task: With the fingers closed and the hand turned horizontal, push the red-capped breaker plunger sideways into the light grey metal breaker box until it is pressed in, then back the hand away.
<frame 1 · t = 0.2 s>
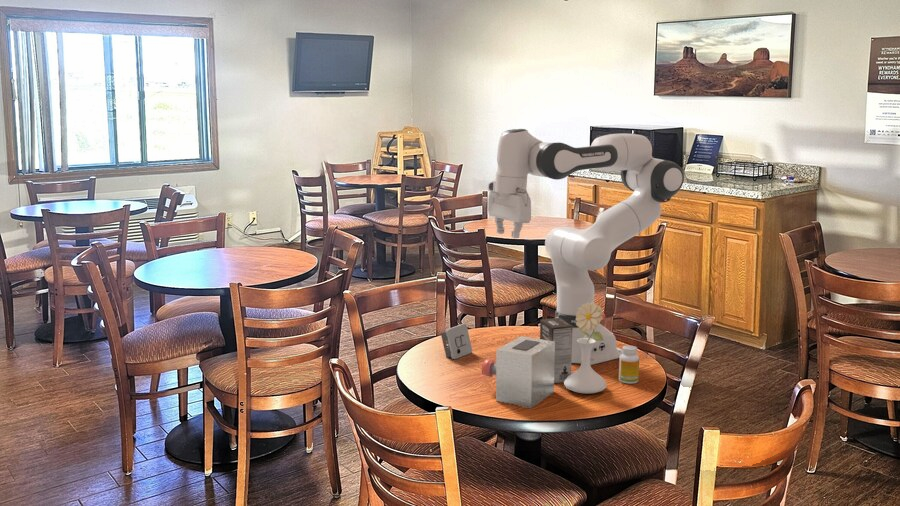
hand: (507, 235, 237), 39 cm above the table, tool pointing down, fingers open, 8 cm apart
flower in vase: (586, 391, 224), on the table
coffee box: (555, 378, 235), on the table
breaker box: (525, 396, 220), on the table
electrical switch: (456, 355, 255), on the table
breaker plunger: (502, 370, 222), point 6 cm above the table, slide at 0.0 cm
supplement bottle: (628, 381, 232), on the table
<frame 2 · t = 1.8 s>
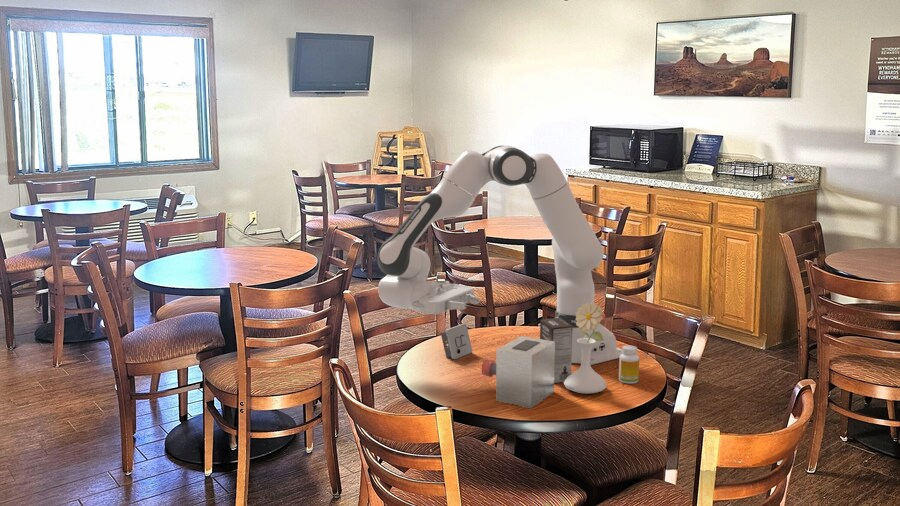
hand: (471, 303, 228), 22 cm above the table, tool horizontal, fingers open, 5 cm apart
nothing on the table moved.
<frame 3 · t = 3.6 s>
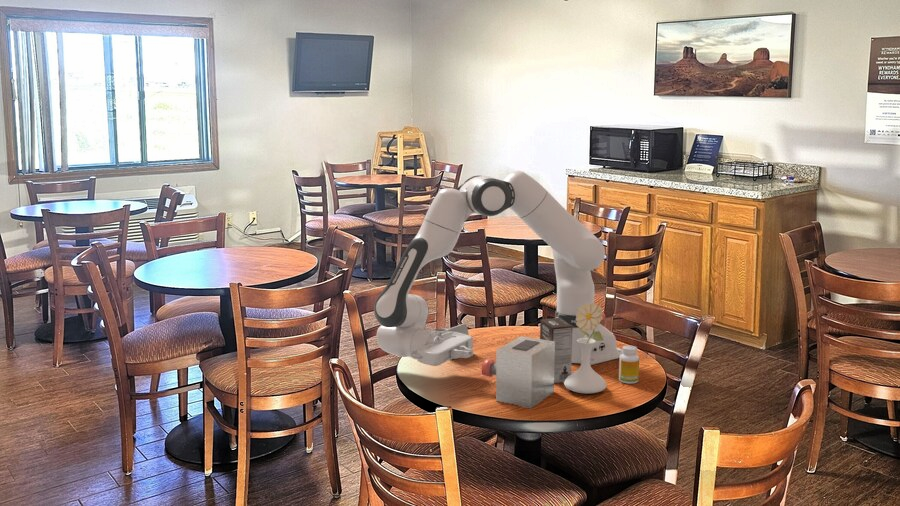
hand: (470, 354, 227), 9 cm above the table, tool horizontal, fingers closed
nothing on the table moved.
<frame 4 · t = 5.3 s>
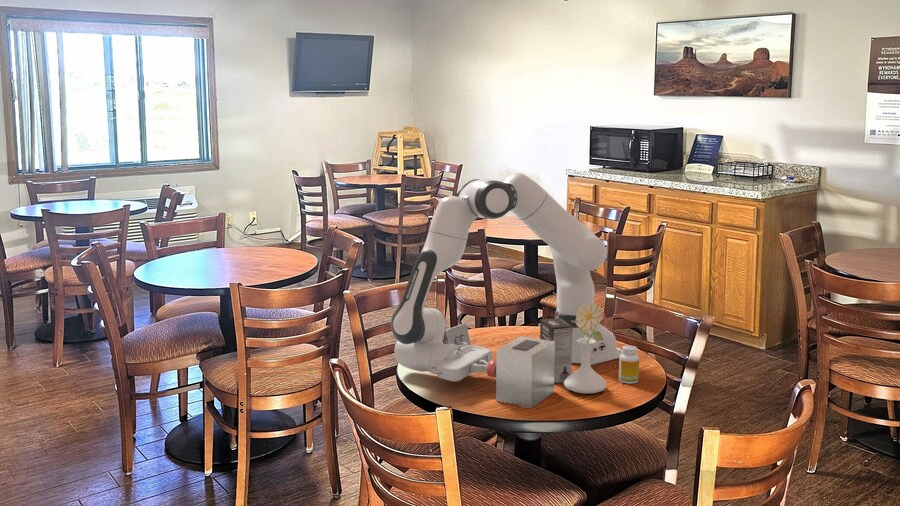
hand: (490, 368, 224), 6 cm above the table, tool horizontal, fingers closed, pressing on breaker plunger
breaker plunger: (508, 371, 222), point 6 cm above the table, slide at 1.6 cm, touching gripper
everything else where it was.
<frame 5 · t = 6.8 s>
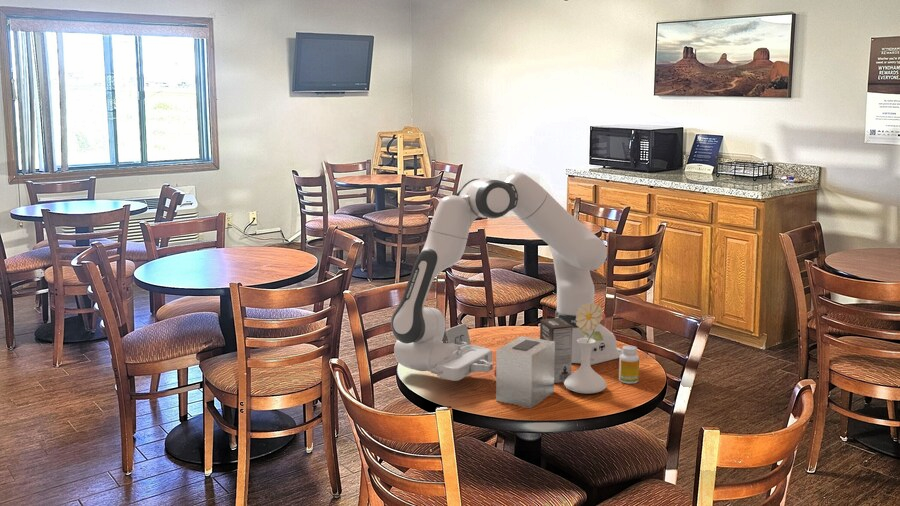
hand: (491, 368, 224), 6 cm above the table, tool horizontal, fingers closed
breaker plunger: (515, 372, 220), point 6 cm above the table, slide at 3.9 cm
everything else where it was.
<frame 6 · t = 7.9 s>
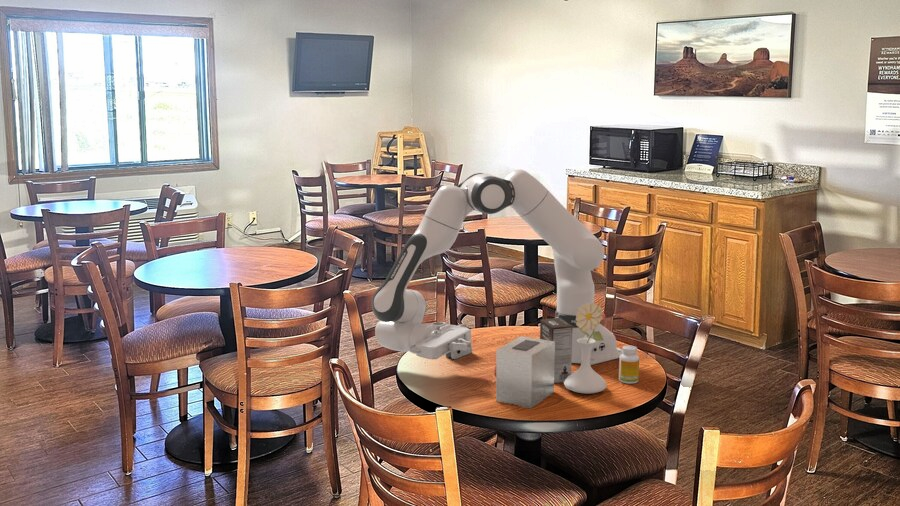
hand: (468, 346, 229), 11 cm above the table, tool horizontal, fingers closed
nothing on the table moved.
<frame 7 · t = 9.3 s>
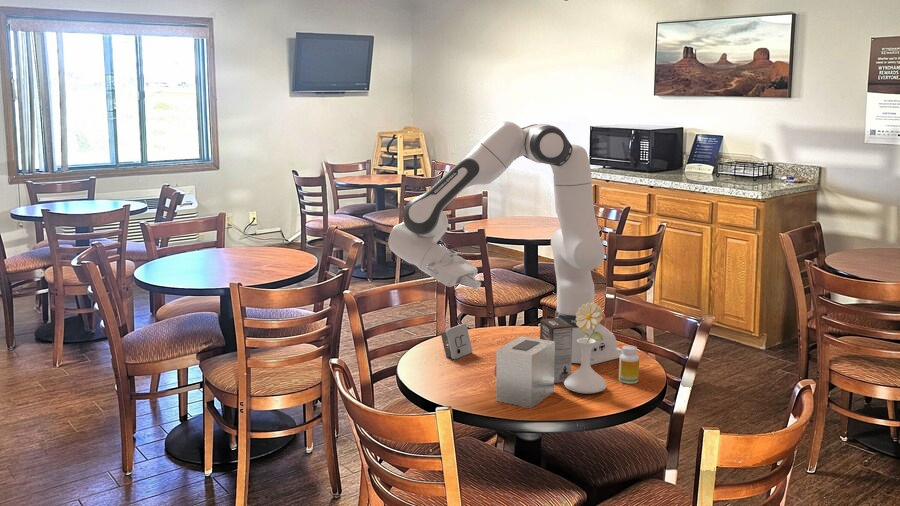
hand: (478, 286, 233), 26 cm above the table, tool tilted 65°, fingers closed
nothing on the table moved.
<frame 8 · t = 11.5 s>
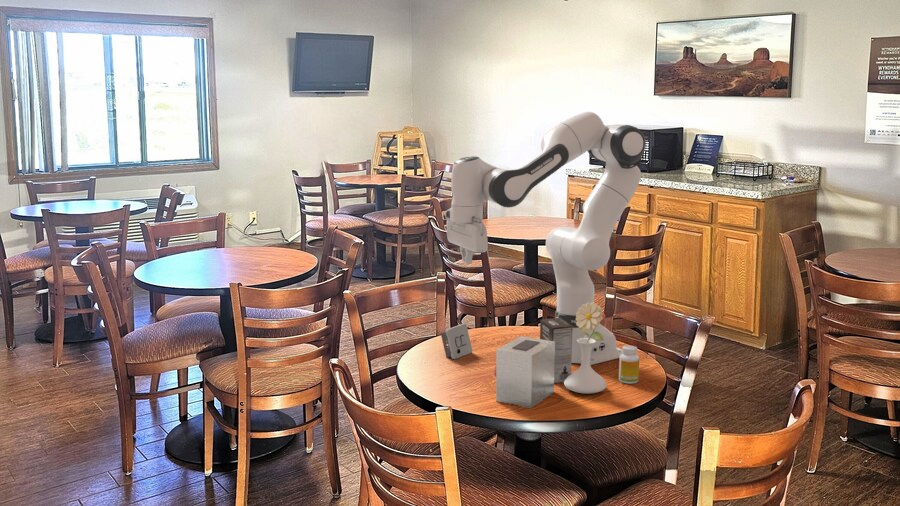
hand: (467, 262, 238), 31 cm above the table, tool pointing down, fingers closed
nothing on the table moved.
at the end: breaker plunger slide at 3.9 cm; the gripper is holding nothing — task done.
